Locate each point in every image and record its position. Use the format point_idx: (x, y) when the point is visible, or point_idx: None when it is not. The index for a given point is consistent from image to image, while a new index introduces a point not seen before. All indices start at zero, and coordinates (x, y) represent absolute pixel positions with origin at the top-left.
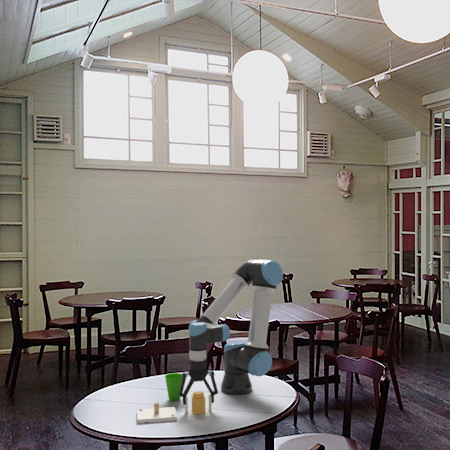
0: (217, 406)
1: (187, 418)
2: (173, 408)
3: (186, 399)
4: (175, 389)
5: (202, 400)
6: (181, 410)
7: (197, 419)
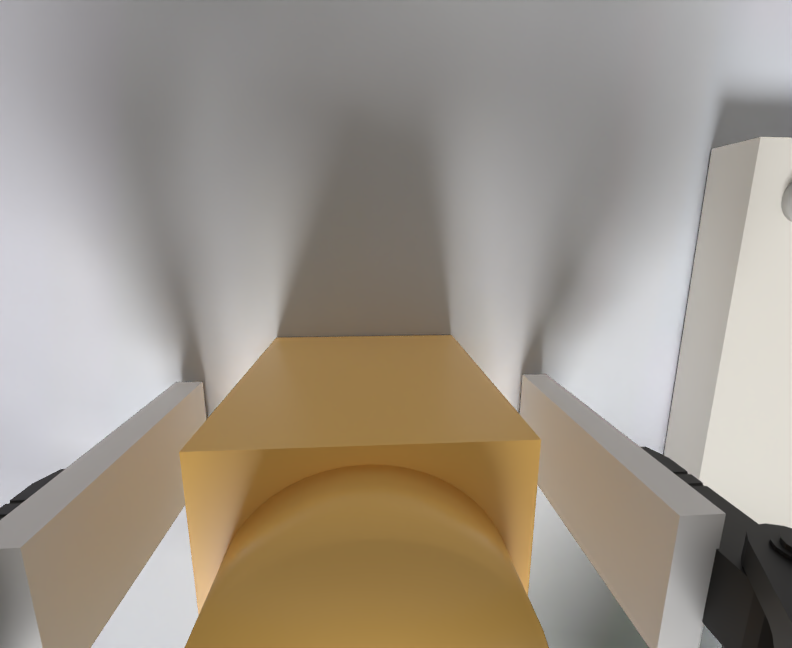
0: None
1: (553, 199)
2: (716, 489)
3: (681, 488)
4: None
5: (279, 422)
6: None
7: (418, 123)
